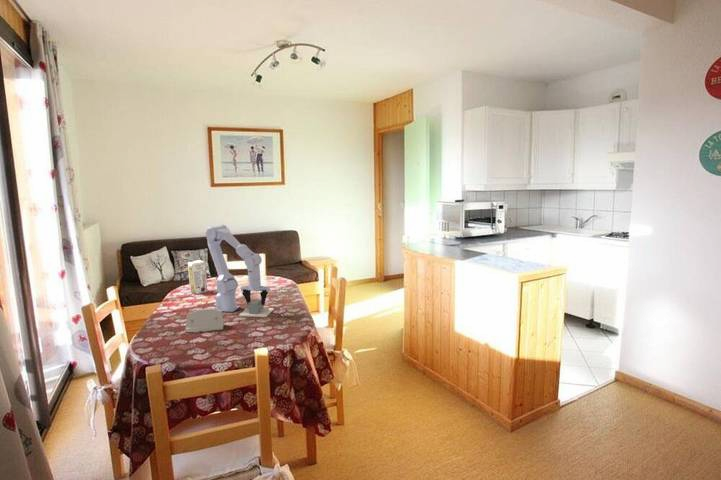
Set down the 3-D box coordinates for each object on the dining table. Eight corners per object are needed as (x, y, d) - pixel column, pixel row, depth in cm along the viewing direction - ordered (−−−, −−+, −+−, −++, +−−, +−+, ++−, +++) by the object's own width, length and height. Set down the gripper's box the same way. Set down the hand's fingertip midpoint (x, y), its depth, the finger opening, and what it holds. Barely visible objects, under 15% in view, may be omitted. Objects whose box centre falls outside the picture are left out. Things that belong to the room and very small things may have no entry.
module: (248, 313, 202) (248, 303, 201) (254, 309, 209) (253, 298, 208) (258, 314, 201) (257, 303, 200) (263, 309, 208) (263, 299, 207)
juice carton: (209, 291, 247) (206, 260, 244) (196, 295, 240) (193, 263, 237) (201, 289, 251) (198, 259, 248) (189, 293, 244) (185, 262, 241)
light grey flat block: (184, 333, 182) (183, 310, 183) (186, 333, 186) (186, 311, 188) (223, 329, 185) (222, 306, 187) (225, 328, 190) (224, 307, 191)
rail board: (239, 316, 202) (238, 311, 201) (248, 308, 212) (248, 304, 212) (265, 317, 199) (265, 312, 199) (274, 309, 210) (273, 305, 210)
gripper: (237, 280, 200) (239, 306, 202) (265, 280, 198) (266, 307, 200) (243, 276, 207) (245, 302, 209) (270, 277, 205) (272, 303, 207)
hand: (256, 304), depth 205 cm, fingers open, 7 cm apart
